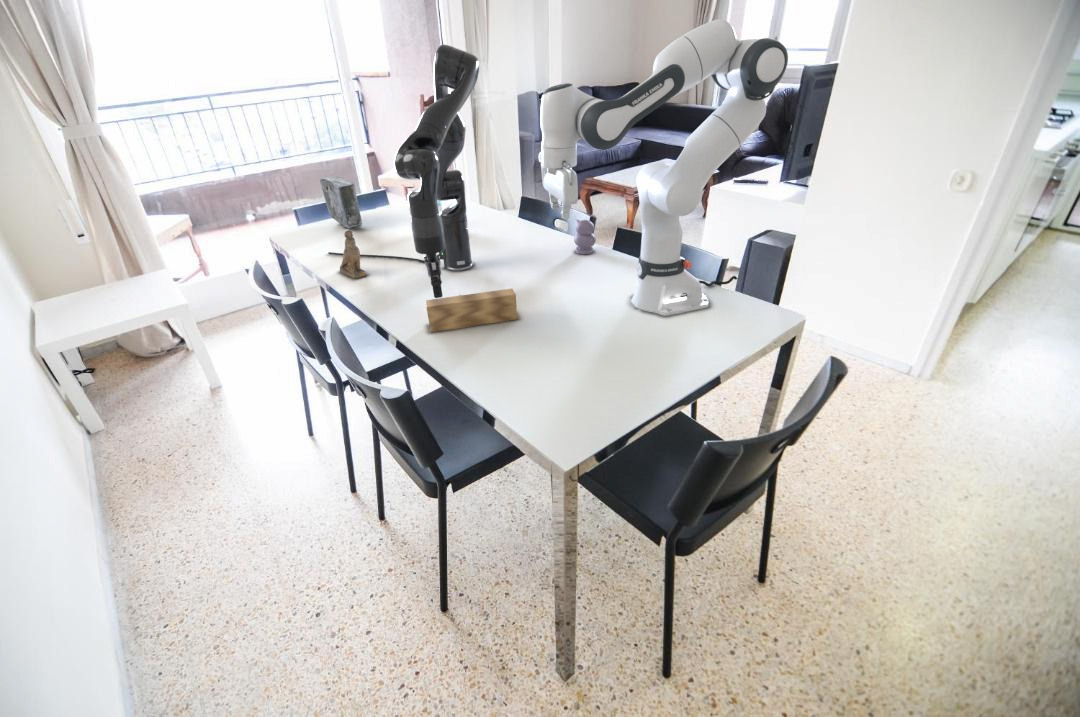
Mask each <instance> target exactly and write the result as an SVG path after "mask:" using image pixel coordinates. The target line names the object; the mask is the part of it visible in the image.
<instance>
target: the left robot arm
mask: <svg viewBox="0 0 1080 717" xmlns="http://www.w3.org/2000/svg"><path fill="white" fill-rule="evenodd" d="M432 72H433V91H434V93H433V94H434V102H432V103H431V104H429V106H427V107H426V108H425V110H424V111H423V112H422V114H421V116H420V118H419V120H418V122H417V125H416V127H415V129H414V130H413V132H412V133H411V134H410V135H409V136H408V137H407V138H406V139H405V140H404V141H403V142H402V144H401V145H400V146H399V147H398V148H397V151H396V152H395V154H394V160H393V166H394V167H393V168H394V170H395V173H396V174H397V175H398V176H399V177H400V178H402V179H404V180H411V181H412V180H414V181H415V180H416V181H420V187H419V188H415V189H413V190H410V191H409V192H408V194H407V203H408V207H409V208H408V209H409V214H410V226H411V232H412V238H413V245H414V248H415V252H416V253H417V254H419V255H425V256H423V259H420V258H413V257H405V256H393V255H381V254H361V253H360V258H361V257H364V258H382V259H383V258H384V259H398V260H406V261H407V260H408V261H413V262H414V261H415V262H420V263H423V264H424V265H425V268H426V272H427V276H428V277H429V279H430V284H431V287H432V293H433V298H434V299H439V298H443V288H442V284H443V281H442V278H441V276H442V268H441V261H443V267H444V269H445V270H449V271H454V272H459V271H467V270H469V269H471V268H472V266H473V260H472V250H471V242H470V234H469V224H468V216H467V203H466V202H467V201H466V200H467V199H466V186H465V185H466V184H465V178H464V176H463V173H462V172H461V170H459V169H450V170H448V169H449V168H450V167H451V165H452V164H453V163H454V162H455V161H456V159H457V158H458V157H459V156H460V155H461V153H462V152H463V149H464V146H465V139H466V130H467V129H466V124H465V120H464V118H463V116H462V113H461V112H460V111H461V109H462V108H463V107H464V105H465V104H466V102H467V100H468V98H469V97H470V96H471V94H472V92H473V90H474V89H475V87H476V84H477V82H478V78H479V72H480V61H479V58H478V57H477V56H476V55H474V54H473V53H470V52H468V51H465V50H462V49H459V48H457V47H455V46H452V45H449V44H441V45H439V46H438V47H437V49H436V51H435V55H434V59H433V71H432ZM451 89H452V91H451ZM437 201H442V202H445V201H452V202H451V203H450V205H448V206H446V207H444V209H443V210H442V211H441V212H440V216H439V210H438V203H437ZM327 253H328V255H334V256H343V253H344V252H343V253H342V252H332V251H331V252H329V251H328V252H327Z"/></svg>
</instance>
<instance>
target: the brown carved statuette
mask: <svg viewBox="0 0 1080 717" xmlns="http://www.w3.org/2000/svg"><path fill="white" fill-rule="evenodd" d="M343 236H344V238H346V239H345V240H344V249H343V255H342V261H341V264H340V266H339V273H341V274H343V275H344V276H347V277H350V278H352V279H356V280H357V279H360V278H362V277H366V276H367V273H366V271H365V270H363V269H362V268H361V256H360V254H361V252H360V249H359V247H358V246H357V244H356V243H357V242H356V239H355V237H354V234H353V231H351V229H348V230H346V231H345V232H344V234H343Z"/></svg>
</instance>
